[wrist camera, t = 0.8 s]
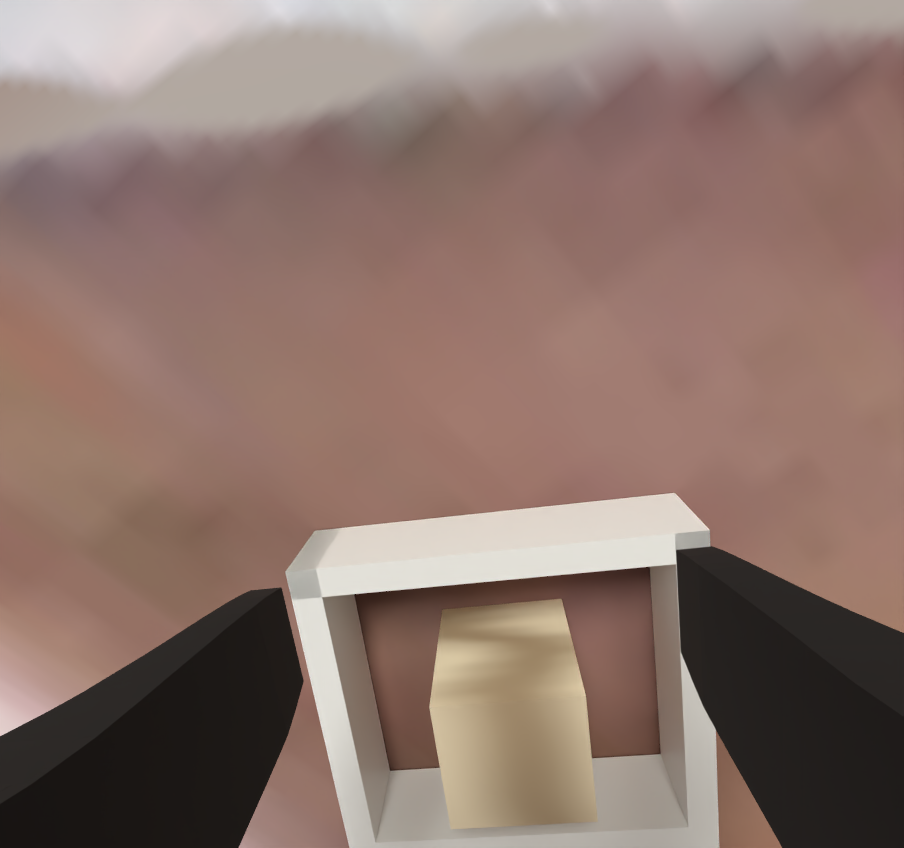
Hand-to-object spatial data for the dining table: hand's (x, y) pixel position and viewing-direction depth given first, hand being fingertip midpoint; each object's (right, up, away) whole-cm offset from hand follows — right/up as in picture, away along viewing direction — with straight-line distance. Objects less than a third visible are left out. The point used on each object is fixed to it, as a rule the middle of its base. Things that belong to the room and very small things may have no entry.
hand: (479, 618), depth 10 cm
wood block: (+2, -5, +11) cm, 12 cm away
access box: (+2, -5, +11) cm, 12 cm away
